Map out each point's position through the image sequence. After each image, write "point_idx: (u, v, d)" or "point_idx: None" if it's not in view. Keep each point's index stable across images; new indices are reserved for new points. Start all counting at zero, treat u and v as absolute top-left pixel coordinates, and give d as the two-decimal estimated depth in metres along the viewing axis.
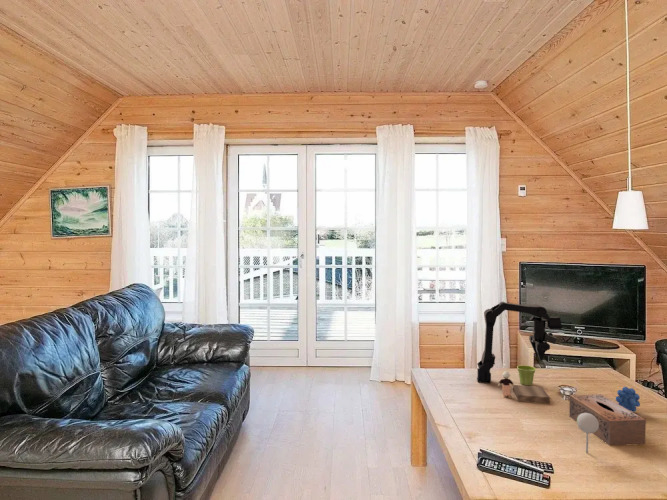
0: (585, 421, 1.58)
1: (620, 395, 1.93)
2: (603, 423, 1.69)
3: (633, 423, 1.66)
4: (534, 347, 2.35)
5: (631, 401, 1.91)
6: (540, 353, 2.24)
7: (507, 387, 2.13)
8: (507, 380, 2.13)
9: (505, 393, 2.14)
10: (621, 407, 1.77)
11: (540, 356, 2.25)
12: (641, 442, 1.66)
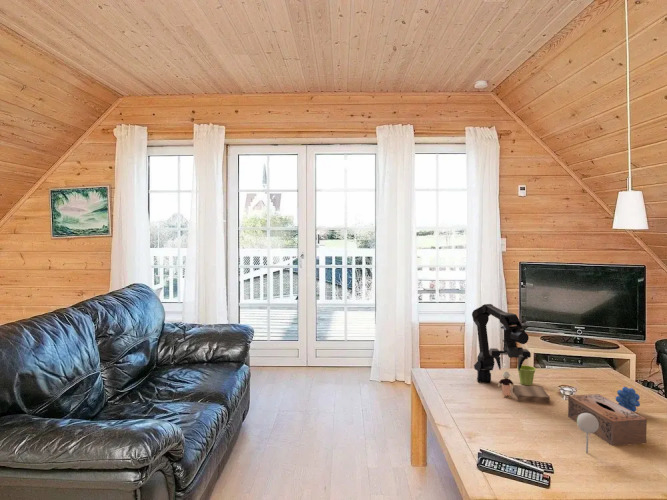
0: (585, 421, 1.58)
1: (620, 395, 1.93)
2: (605, 423, 1.69)
3: (635, 422, 1.66)
4: (518, 361, 2.16)
5: (631, 401, 1.91)
6: (497, 361, 2.16)
7: (507, 387, 2.13)
8: (507, 380, 2.13)
9: (505, 393, 2.14)
10: (621, 407, 1.78)
11: None
12: (642, 441, 1.67)
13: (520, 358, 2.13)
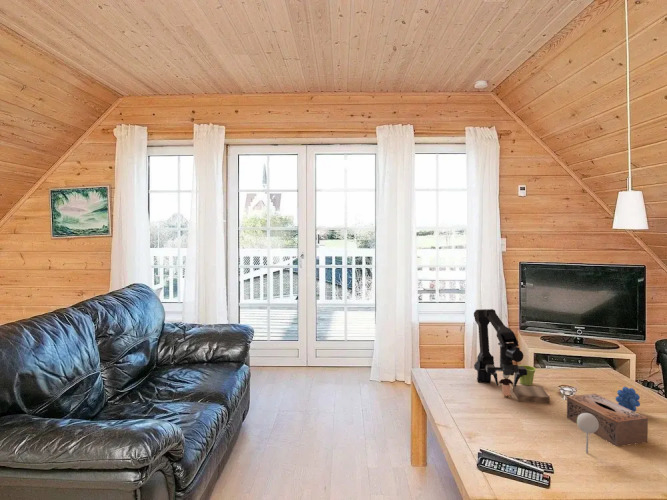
0: (585, 421, 1.58)
1: (620, 395, 1.93)
2: (609, 424, 1.68)
3: (637, 422, 1.67)
4: (514, 378, 2.14)
5: (631, 401, 1.91)
6: (494, 377, 2.16)
7: (507, 387, 2.13)
8: (507, 380, 2.13)
9: (505, 393, 2.14)
10: (620, 406, 1.79)
11: (495, 381, 2.16)
12: (644, 440, 1.68)
13: (516, 375, 2.12)
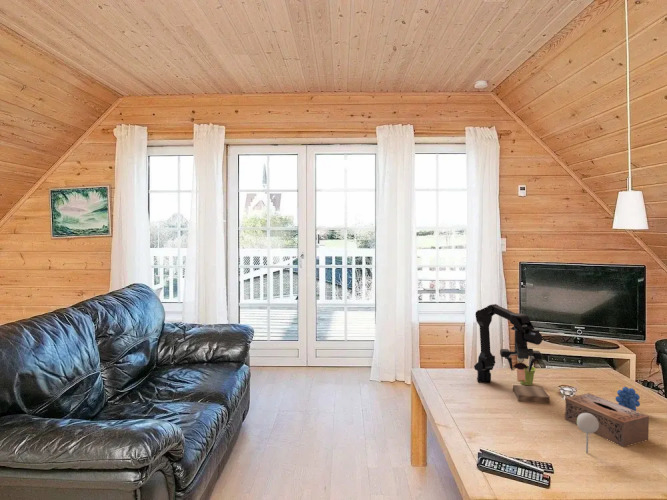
0: (585, 421, 1.58)
1: (620, 395, 1.93)
2: (614, 424, 1.68)
3: (640, 421, 1.68)
4: (529, 362, 2.13)
5: (631, 401, 1.91)
6: None
7: (522, 371, 2.12)
8: (522, 364, 2.12)
9: (520, 377, 2.12)
10: (618, 405, 1.79)
11: None
12: (645, 439, 1.69)
13: (530, 359, 2.11)
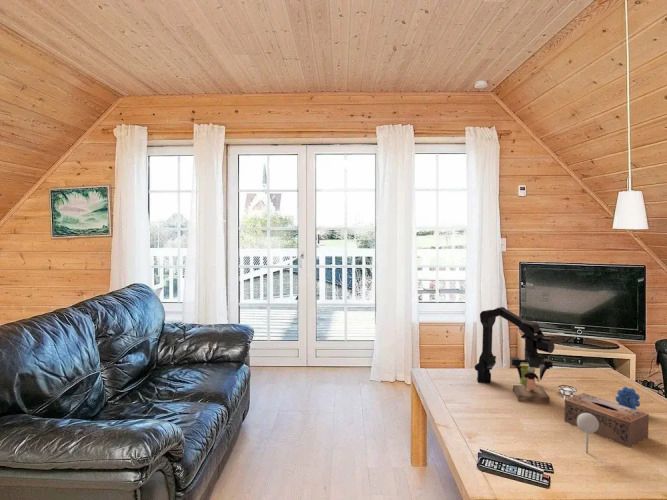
0: (585, 421, 1.58)
1: (620, 395, 1.93)
2: (619, 425, 1.67)
3: (642, 419, 1.69)
4: (540, 370, 2.13)
5: (631, 401, 1.91)
6: (518, 370, 2.15)
7: (532, 381, 2.12)
8: (532, 374, 2.12)
9: (530, 387, 2.13)
10: (616, 404, 1.80)
11: None
12: (646, 437, 1.71)
13: (542, 368, 2.11)
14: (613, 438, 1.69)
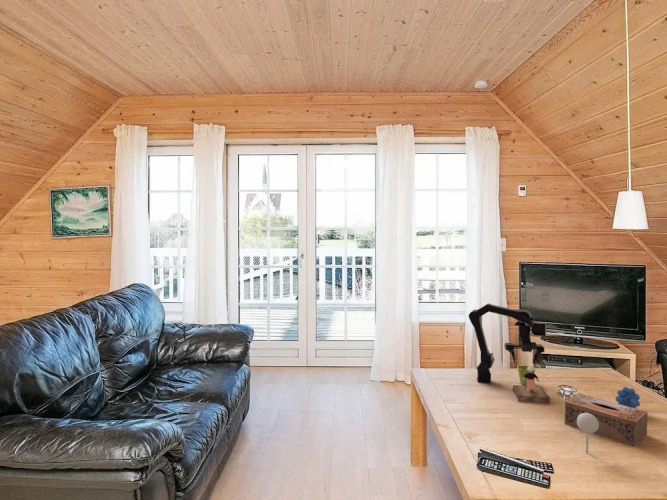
0: (585, 421, 1.58)
1: (620, 395, 1.93)
2: (624, 425, 1.67)
3: (643, 418, 1.70)
4: (533, 355, 2.26)
5: (631, 401, 1.91)
6: None
7: (532, 381, 2.12)
8: (532, 374, 2.12)
9: (530, 387, 2.13)
10: (614, 403, 1.81)
11: None
12: (645, 434, 1.73)
13: (534, 352, 2.24)
14: (617, 438, 1.69)
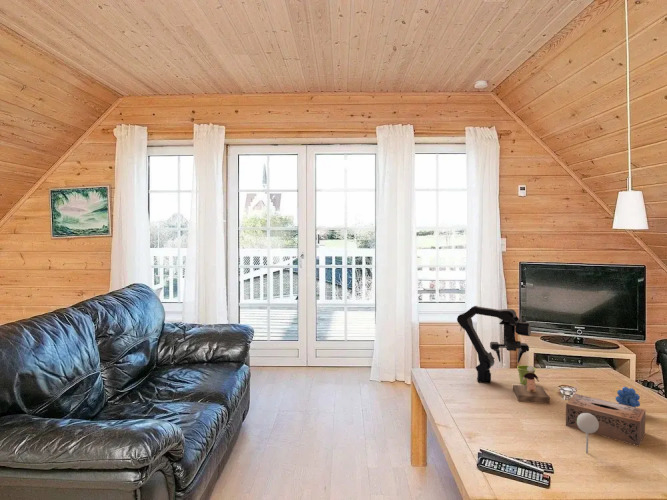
0: (585, 421, 1.58)
1: (620, 395, 1.93)
2: (628, 425, 1.67)
3: (643, 416, 1.72)
4: (518, 354, 2.28)
5: (631, 401, 1.91)
6: (497, 354, 2.29)
7: (532, 381, 2.12)
8: (532, 374, 2.12)
9: (530, 387, 2.13)
10: (611, 403, 1.82)
11: (498, 357, 2.29)
12: (644, 432, 1.74)
13: (519, 351, 2.26)
14: (621, 438, 1.69)
